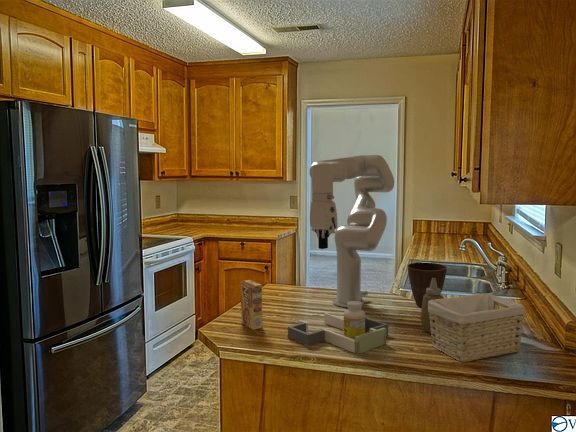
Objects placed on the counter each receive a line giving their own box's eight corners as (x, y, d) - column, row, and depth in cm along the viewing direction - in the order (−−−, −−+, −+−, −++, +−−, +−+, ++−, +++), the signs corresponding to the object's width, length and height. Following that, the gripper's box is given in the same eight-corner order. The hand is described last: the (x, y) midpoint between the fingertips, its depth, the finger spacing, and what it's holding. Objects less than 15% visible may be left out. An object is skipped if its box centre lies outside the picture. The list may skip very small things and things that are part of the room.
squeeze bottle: (445, 328, 167) (446, 276, 165) (444, 336, 159) (446, 281, 157) (420, 325, 170) (422, 274, 168) (419, 333, 162) (420, 280, 160)
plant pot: (440, 313, 183) (441, 271, 182) (401, 307, 191) (402, 267, 189) (449, 304, 196) (451, 264, 194) (413, 298, 204) (414, 261, 202)
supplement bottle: (343, 339, 157) (344, 299, 156) (364, 340, 156) (365, 300, 155) (343, 346, 150) (343, 305, 149) (365, 347, 150) (365, 305, 149)
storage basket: (459, 365, 136) (460, 314, 135) (424, 345, 151) (425, 299, 150) (525, 354, 144) (528, 305, 143) (486, 336, 159) (487, 291, 158)
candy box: (263, 328, 168) (262, 284, 166) (252, 330, 166) (252, 286, 164) (250, 321, 175) (250, 279, 174) (240, 323, 173) (239, 281, 171)
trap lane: (340, 318, 178) (340, 305, 177) (400, 338, 157) (400, 323, 156) (282, 334, 161) (281, 320, 161) (340, 359, 140) (340, 343, 140)
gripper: (345, 198, 171) (345, 249, 173) (315, 195, 182) (316, 244, 185) (330, 200, 166) (330, 253, 168) (300, 197, 177) (301, 247, 180)
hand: (323, 248), depth 176 cm, fingers closed
